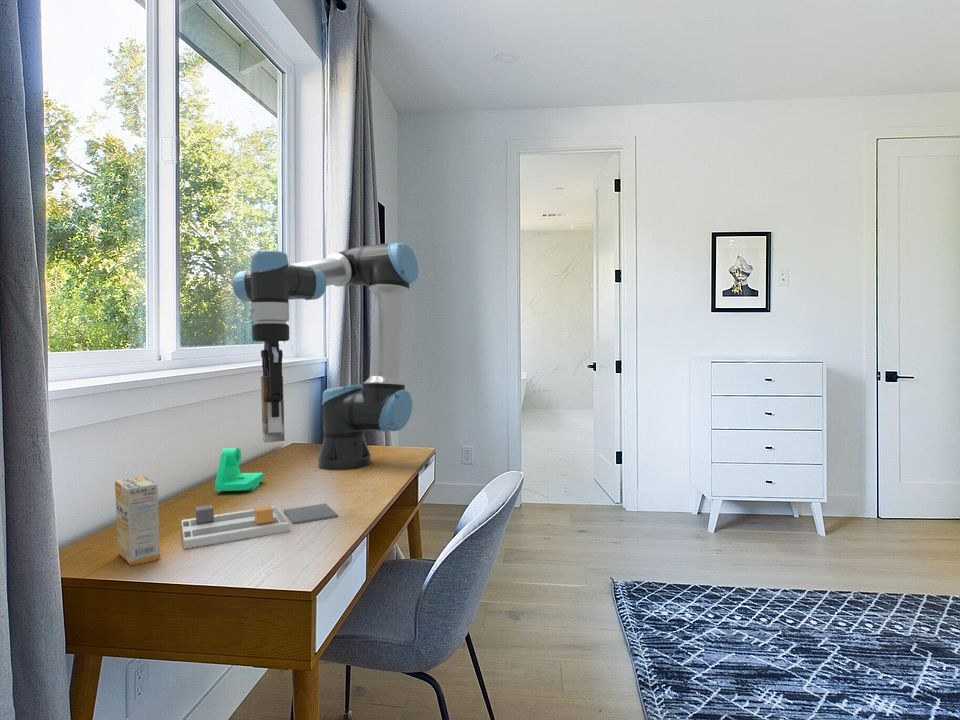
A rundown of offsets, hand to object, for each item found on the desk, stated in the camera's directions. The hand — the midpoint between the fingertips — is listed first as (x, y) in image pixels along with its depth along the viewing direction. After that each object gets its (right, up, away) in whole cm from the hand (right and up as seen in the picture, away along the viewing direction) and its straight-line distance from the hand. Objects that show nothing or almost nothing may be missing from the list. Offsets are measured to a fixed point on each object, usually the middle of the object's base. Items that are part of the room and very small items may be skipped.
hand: (273, 430), depth 127 cm
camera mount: (-15, -17, +20) cm, 30 cm away
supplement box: (-14, -19, -27) cm, 35 cm away
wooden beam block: (0, -2, 0) cm, 2 cm away
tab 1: (-9, -16, -12) cm, 22 cm away
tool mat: (+9, -17, -4) cm, 20 cm away
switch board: (-3, -18, -13) cm, 22 cm away
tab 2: (+3, -16, -14) cm, 21 cm away
